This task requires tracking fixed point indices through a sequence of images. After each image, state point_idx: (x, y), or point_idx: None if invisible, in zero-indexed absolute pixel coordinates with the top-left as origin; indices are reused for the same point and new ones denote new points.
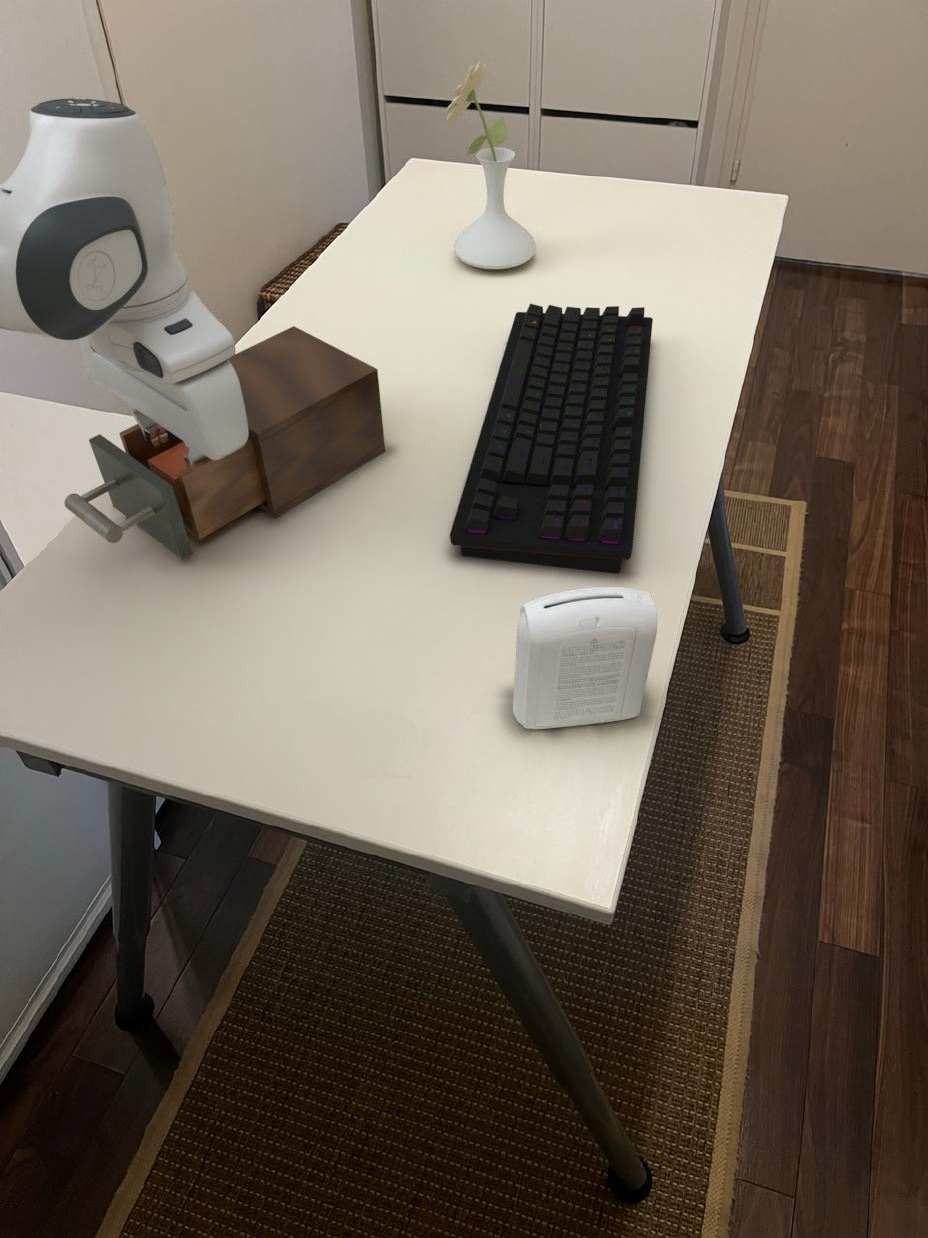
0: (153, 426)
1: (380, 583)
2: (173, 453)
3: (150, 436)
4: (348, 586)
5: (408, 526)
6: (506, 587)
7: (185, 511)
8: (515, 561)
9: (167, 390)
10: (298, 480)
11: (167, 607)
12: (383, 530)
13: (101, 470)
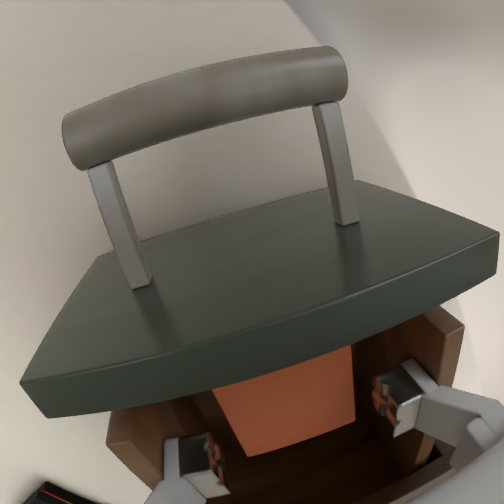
0: (411, 415)
1: (14, 430)
2: (328, 397)
3: (390, 398)
4: (11, 410)
5: (98, 480)
6: (7, 475)
7: None
8: (34, 492)
9: None
10: None
11: (21, 188)
12: (98, 467)
13: (414, 203)
